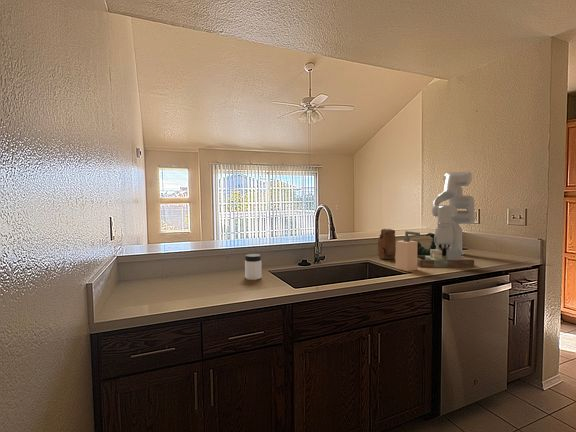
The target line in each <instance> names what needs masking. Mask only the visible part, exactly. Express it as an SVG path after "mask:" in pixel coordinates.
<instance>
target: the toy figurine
mask: <svg viewBox="0 0 576 432" xmlns="http://www.w3.org/2000/svg"><path fill="white" fill-rule="evenodd" d="M425 236H426V237H428V236H429V237H430V238H432V239H431V240H432V241H431V242H430V243H431V245H430V246H429V247H430V248H425V247H424V246H422V244H421V243H420V241H417V240H416V241H417V242H418V245H417V256H430V249H436V246H435V243H434V236H435V233H432V232H428V233H427V234H426V235H425Z"/></svg>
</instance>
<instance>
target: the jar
mask: <svg viewBox="0 0 576 432" xmlns="http://www.w3.org/2000/svg"><path fill="white" fill-rule="evenodd" d="M262 263H263V262H262V255H261V254H260V253H249V254H245V255H244V277H245V279H246V280H247V281H248V280H251V281H256V280H260V279H262V278H263V277H262V275H263V273H262V269H263V268H262V267H263V266H262Z"/></svg>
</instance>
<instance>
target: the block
mask: <svg viewBox="0 0 576 432" xmlns="http://www.w3.org/2000/svg"><path fill="white" fill-rule="evenodd" d="M396 241H397V240H396V231H395V230H394V229H391V228H382V229H380V235H379V236H378V241H377V253H378V254H377V255H378V257H379V259H380V260H393V259H396Z"/></svg>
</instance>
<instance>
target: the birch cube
mask: <svg viewBox="0 0 576 432" xmlns="http://www.w3.org/2000/svg"><path fill="white" fill-rule="evenodd" d="M430 257H431V258H433V259H442V250H439V249H430Z"/></svg>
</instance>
